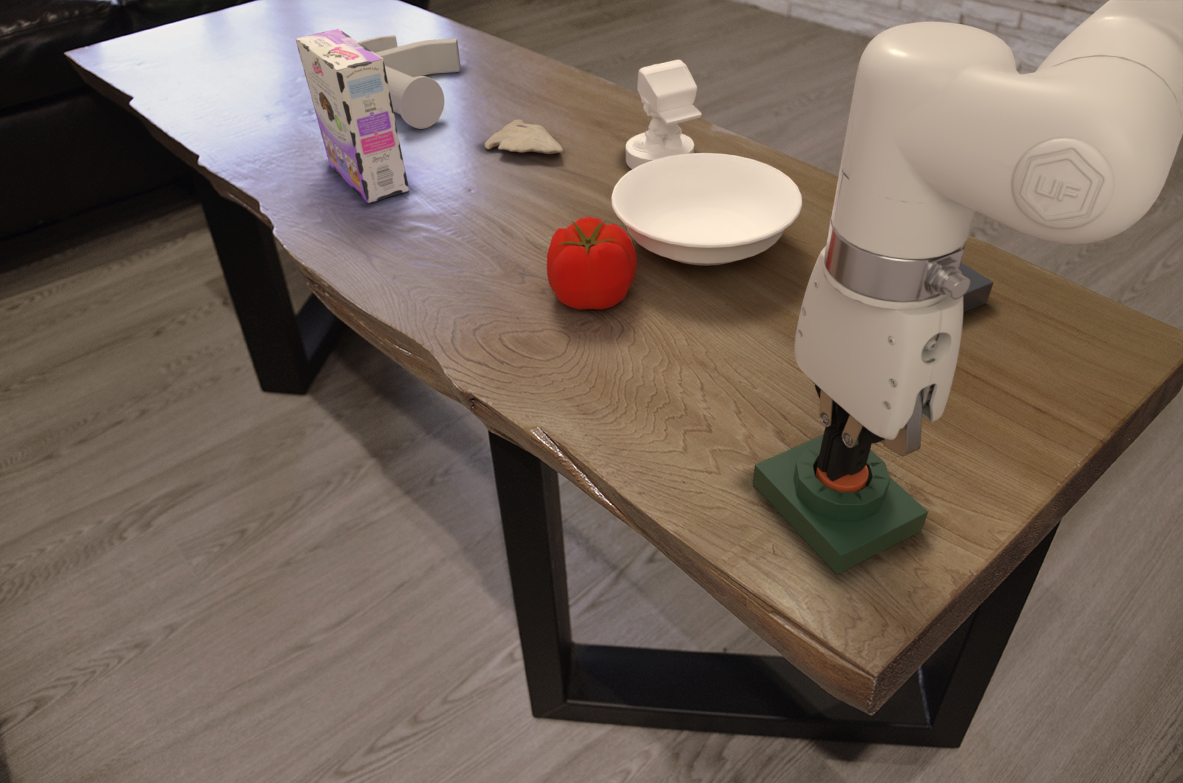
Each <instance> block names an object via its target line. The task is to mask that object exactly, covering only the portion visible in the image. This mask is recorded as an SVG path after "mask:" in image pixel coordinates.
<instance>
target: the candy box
mask: <svg viewBox="0 0 1183 783" xmlns="http://www.w3.org/2000/svg"><path fill="white" fill-rule="evenodd" d="M295 42H296V45H297V50H298V54H299V58H300V62H301V65H302V69H303V72H304V76H305V79H306V83H307V86H308V90H309V94H310V97H311V101H312V105H313V109H314V112H315V116H316V120H317V124H318V127H319V130H320V135H321V139H322V142H323V146H324V149H325V153H326V157H327V160H328V164H329V166H330V167H331V168H332V169H333V170H334V171H335V172H336V173H337V174H338V175H339V176H340V177H341V178H342V179H343V180H344V181H345V182H346V183H347V184H348V185H349V186H350V187H351V188H352V189H353V190H354V191H355V192H356V193H358V195H359V196H360V197H361V198H362V199H363V200H364V201H365V202H366V203H367V204H370V203H374V202H379V201H380V200H383V199H387V198H390V197H393V196H396V195H400V194H404V193H407V192H408V191H410V187H409V182H408V177H407V173H406V166H405V164H404V163H405V162H404V158H403V153H402V148H401V143H400V136H399V133H398V132H399V131H398V128H397V120H396V117H395V112H394V111H393V105H392V100H391V95H390V91H389V85H388V80H387V75H386V70H385V65H384V59H383V58H381V57H380V56H378V55H377V54H375V53H374V52H372V51H371V50H369V49H368V48H366V47H365V46H363V45H362V44H360V43H359V42H360V41H357V40H356V39H354V38H353V37H352V36H350V35H348V33H346V32H344V30H342V29H340V28H335V29H330V30H326V31H321V32H317V33H313V34H310V35H305V36H301V37H297V38H295Z"/></svg>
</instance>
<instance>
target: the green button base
mask: <svg viewBox="0 0 1183 783" xmlns="http://www.w3.org/2000/svg"><path fill="white" fill-rule="evenodd" d="M823 435H824V433H823V434H821V435H818V436H817V437H814V438H812V439H810V440H808V441H806V442H802V443H801V444H799V445H797V446H794V447H792V448H789V449H787V450H784V451H783V452H780V453H778V454H776V455H774V456H771V457H769V458H767V459H764V460H763V461H759V462H758V463H756V464H754V469H753V476H752V483H751V484H752V485H753V487H755V488H756V489H757V491H758V492H759V493H760V494H761V495H762V496H763V497H764V498H765V499H766V500H767V501H768V502H769V504H770V505H771V506H772V507H773V508H774V509H775V510H776V512H778V513H779V514H780V516H781V517H782V518H783V519H784V520H785V521H786V522H787V523H788V524H789V525H790V526H791V527H792V529H793V530H794V531H795V532H796V533H797V534H798V535H799V536H800V537H801V538H802V540H804V541H805V542H806V544H808V546H809V547H810V548H811V549H812V550H813V551H814V553H816V554H817V555H818V557H819V558H820V559H821V560H822V561H823V562H824V563H825V564H826V565H827V566H828V567H829V569H831V571H833V573H834V574H835V575H839V574H841V573H843V572H845V571H847V570H849V569H851V568H853V567H854V566H857V565H859V564H861V563H863V562H864V561H866V560H869V559H871V558H872V557H875V556H876V555H878V554H880V553H882V552H884V551H885V550H888V549H890V548H892V547H894V546H896V545H898V544H899V543H901V542H904V541H906V540H907V539H910V538H911V537H913V536H915V535H917V534H918V533H920V532H922V531H923V527H924V525H925V523H926V520H927V517H928V514H929V510H927V509H926V508H925V507H924V506H923V505H922V504H921V503H919V502H918V501H917V500H916V499H915V498H914V497H913V496H912V495H911V494H910V493H909V492H908V491H906V490H905V489H904V488H902V486H900V485H899V483H897V482H896V481H895V480H894V479H893V478H892V477H891V476H890V474H889V471H888V467H887V464H886V462H885V461H884V460H883V459H882V458H880V457H879V456H878V454H876V453H875V452H874V451H873V450H872V449H870V453H869V456H868V460H867V464H866V466H867V468H868V473H869V474H868V479H867V483H866V486H865V488H864V489H862V490H860V491H858V492H838V491H835V490H833V489H830V488H828V487H825V486H824V485H823V484H822V483H821V482H820V481H819V480H818V479H817V478H816V477H815V476H816V471H817V463H818V458H819V454H820V449H821V444H822V439H823Z"/></svg>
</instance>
